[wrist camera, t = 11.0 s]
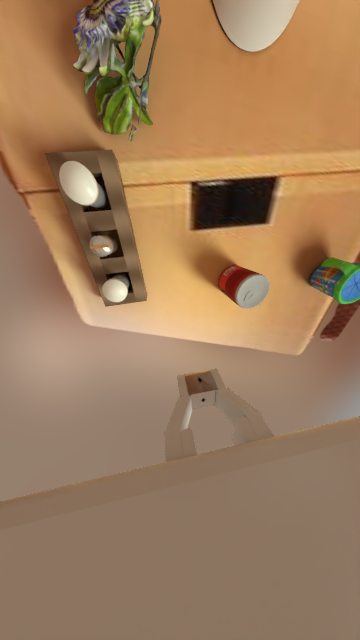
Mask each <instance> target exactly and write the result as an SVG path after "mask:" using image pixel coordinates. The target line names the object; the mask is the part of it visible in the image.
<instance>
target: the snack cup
mask: <svg viewBox="0 0 360 640" xmlns="http://www.w3.org/2000/svg"><path fill="white" fill-rule="evenodd" d="M310 283H311V286H313V287H314V288H315V289H317V290H319V291H321V292H323V293H325V294H327V295H329V296H331V297H333V298H334V299H335V300H336V301H338V302H339V303H342V304H347V303H352V302H355V301H357V300H358V299H360V263H349V262H346V261H342V260H339V259H336V258H328V259H326V260H325V261H324V262H323V263H322V264H321V266H320V267H318V268H316V270H315V271H314V273H313V274H312V276H311V279H310Z"/></svg>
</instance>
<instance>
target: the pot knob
mask: <svg viewBox="0 0 360 640" xmlns="http://www.w3.org/2000/svg"><path fill="white" fill-rule="evenodd" d="M90 249H91V250H92V252H93V253H94V254H96V255H97V256H100V257H104V256H107V255H109V254H112V253H114V252H115V251H116V250H117V242H116V241H115V239H114V238H112V237H111V236H94V237H92V238H91V240H90Z"/></svg>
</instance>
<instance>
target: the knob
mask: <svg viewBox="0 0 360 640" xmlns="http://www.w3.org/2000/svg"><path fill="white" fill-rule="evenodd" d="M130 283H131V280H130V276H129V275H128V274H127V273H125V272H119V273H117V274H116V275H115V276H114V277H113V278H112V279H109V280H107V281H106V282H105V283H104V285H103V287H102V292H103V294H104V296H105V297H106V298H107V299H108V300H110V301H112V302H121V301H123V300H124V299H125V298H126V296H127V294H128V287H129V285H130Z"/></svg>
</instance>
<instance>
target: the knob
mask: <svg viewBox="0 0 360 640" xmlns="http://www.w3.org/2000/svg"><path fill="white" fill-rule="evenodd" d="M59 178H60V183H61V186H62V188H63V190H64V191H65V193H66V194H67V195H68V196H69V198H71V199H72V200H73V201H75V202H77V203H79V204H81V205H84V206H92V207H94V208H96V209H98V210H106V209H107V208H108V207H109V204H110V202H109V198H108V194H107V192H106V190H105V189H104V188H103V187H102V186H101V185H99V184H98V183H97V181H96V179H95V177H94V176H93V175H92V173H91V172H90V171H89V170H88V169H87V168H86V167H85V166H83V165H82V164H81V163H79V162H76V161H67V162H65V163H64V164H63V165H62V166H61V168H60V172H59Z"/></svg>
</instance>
